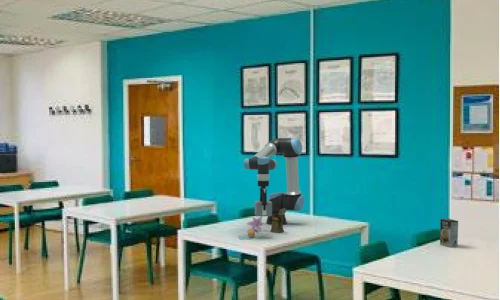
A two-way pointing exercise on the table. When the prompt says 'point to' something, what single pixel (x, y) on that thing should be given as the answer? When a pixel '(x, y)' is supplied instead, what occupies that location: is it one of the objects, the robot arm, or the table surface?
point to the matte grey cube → (259, 208)
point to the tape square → (247, 237)
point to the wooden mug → (278, 221)
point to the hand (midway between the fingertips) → (263, 213)
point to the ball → (251, 233)
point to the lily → (256, 223)
